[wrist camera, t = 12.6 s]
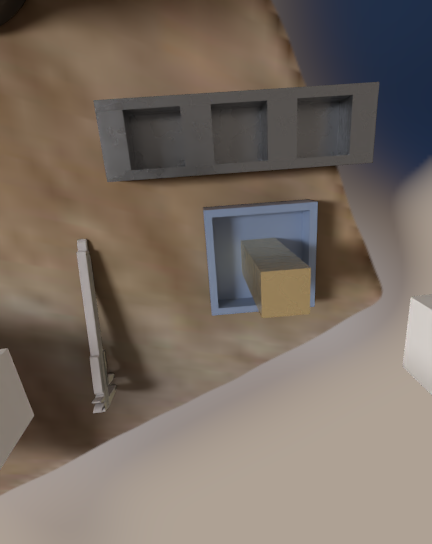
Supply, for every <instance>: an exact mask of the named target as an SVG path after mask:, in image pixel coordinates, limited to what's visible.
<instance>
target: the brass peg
mask: <svg viewBox="0 0 432 544" xmlns="http://www.w3.org/2000/svg"><path fill="white" fill-rule="evenodd" d="M241 262H242V274H243V277H244V279H245V281H246V283H247V286H248V288H249V290H250V292H251V295H252V297H253V299H254V302H255V304H256V306H257V308H258V311H259V313H260V315H261V317H262V318H269V317H281V316H292V315H303V314H310V285H311V267H309V266H308V265H307V264H306V263H305V262H303V261H302V260H301V259H300V258H299V257H297V256H296V255H295V254H294V253H293V252H291V251H290V250H289V249H288V248H287V247H285V246H284V245H283V244H282V243H281V242H279V241H278V240H277V239H276V238H264V239H252V240H241Z"/></svg>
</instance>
